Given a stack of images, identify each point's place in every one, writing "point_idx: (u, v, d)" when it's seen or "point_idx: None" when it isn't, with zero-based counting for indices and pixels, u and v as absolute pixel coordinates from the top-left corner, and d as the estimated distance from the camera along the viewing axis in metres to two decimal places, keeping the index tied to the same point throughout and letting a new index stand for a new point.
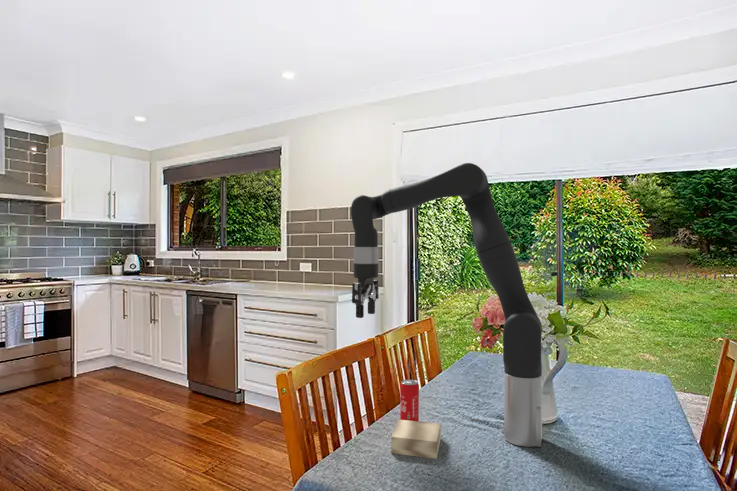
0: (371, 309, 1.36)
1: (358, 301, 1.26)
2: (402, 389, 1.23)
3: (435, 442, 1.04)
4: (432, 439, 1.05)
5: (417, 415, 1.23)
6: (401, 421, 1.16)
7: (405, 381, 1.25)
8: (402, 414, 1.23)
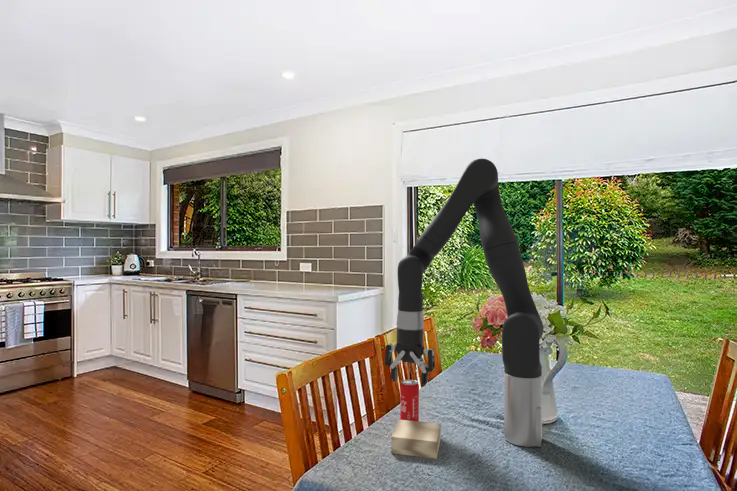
0: (396, 376, 1.26)
1: (434, 367, 1.22)
2: (402, 389, 1.23)
3: (435, 442, 1.04)
4: (432, 439, 1.05)
5: (417, 415, 1.23)
6: (401, 421, 1.16)
7: (405, 381, 1.25)
8: (402, 414, 1.23)
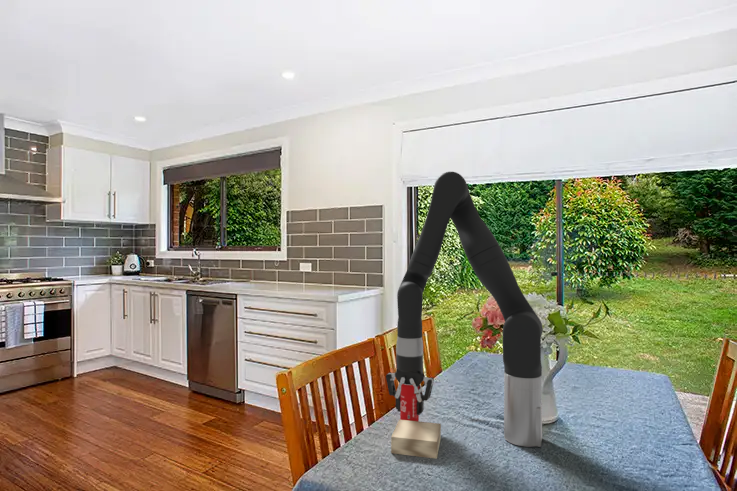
0: None
1: (429, 396, 1.23)
2: (402, 389, 1.23)
3: (435, 442, 1.04)
4: (432, 439, 1.05)
5: (417, 415, 1.23)
6: (401, 421, 1.16)
7: None
8: (402, 414, 1.23)
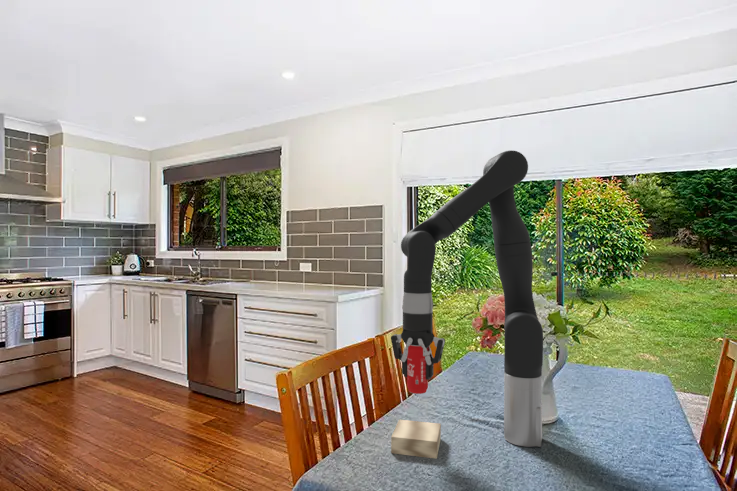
0: None
1: (440, 358, 1.09)
2: (409, 351, 1.09)
3: (435, 442, 1.04)
4: (432, 439, 1.05)
5: (426, 380, 1.09)
6: (401, 421, 1.16)
7: None
8: (409, 379, 1.09)
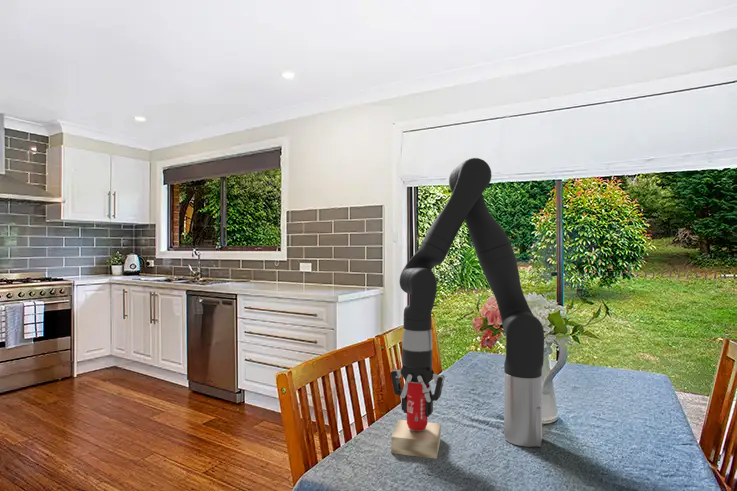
0: None
1: (440, 395, 1.09)
2: (409, 388, 1.09)
3: (435, 442, 1.04)
4: (432, 439, 1.05)
5: (426, 417, 1.09)
6: (401, 421, 1.16)
7: None
8: (408, 416, 1.09)
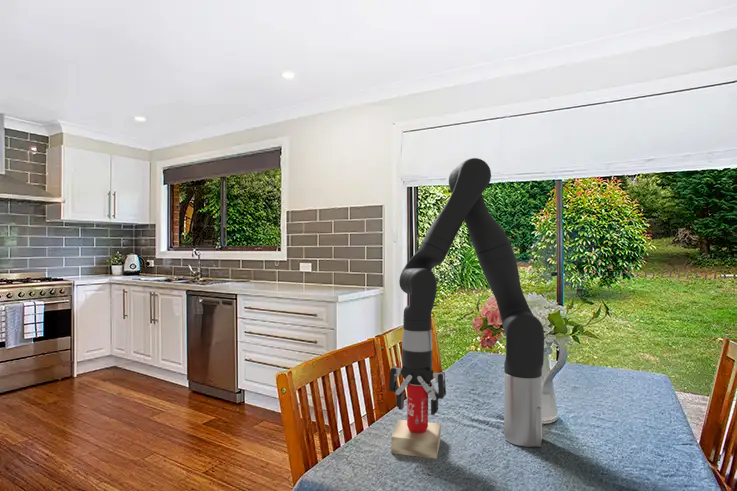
0: (402, 403, 1.13)
1: (445, 393, 1.09)
2: (410, 390, 1.09)
3: (435, 442, 1.04)
4: (432, 439, 1.05)
5: (426, 420, 1.09)
6: (401, 421, 1.16)
7: None
8: (409, 419, 1.09)
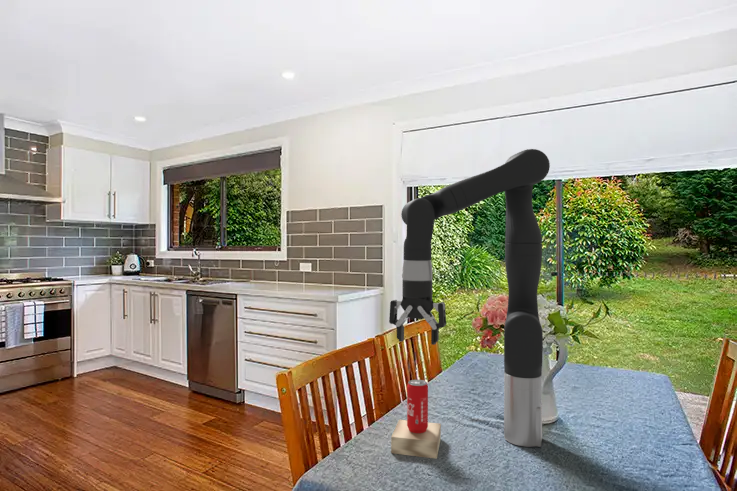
0: (402, 335, 1.13)
1: (445, 323, 1.09)
2: (409, 390, 1.09)
3: (435, 442, 1.04)
4: (432, 439, 1.05)
5: (426, 420, 1.09)
6: (401, 421, 1.16)
7: (413, 381, 1.11)
8: (409, 419, 1.09)
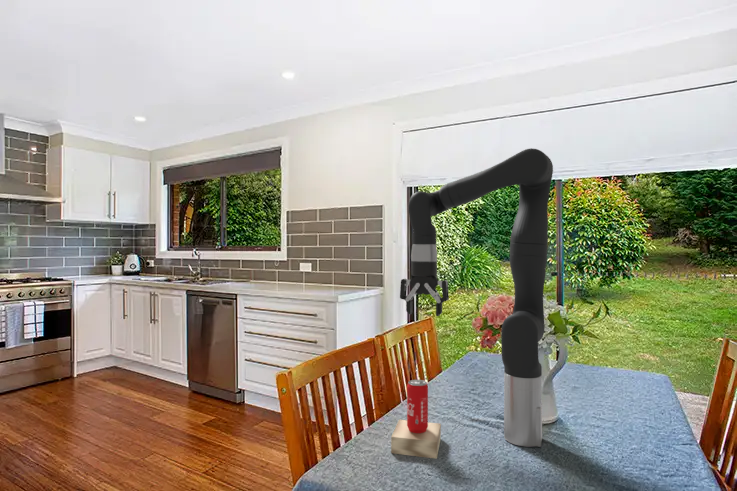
0: (411, 309, 1.32)
1: (448, 298, 1.28)
2: (409, 390, 1.09)
3: (435, 442, 1.04)
4: (432, 439, 1.05)
5: (426, 419, 1.09)
6: (401, 421, 1.16)
7: (412, 381, 1.11)
8: (409, 419, 1.09)
